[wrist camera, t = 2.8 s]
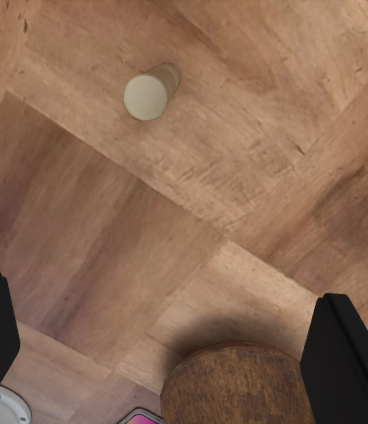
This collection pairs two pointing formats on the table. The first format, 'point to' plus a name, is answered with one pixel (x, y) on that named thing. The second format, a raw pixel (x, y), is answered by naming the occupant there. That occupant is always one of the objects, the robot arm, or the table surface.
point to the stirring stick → (151, 91)
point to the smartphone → (141, 418)
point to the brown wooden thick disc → (236, 387)
